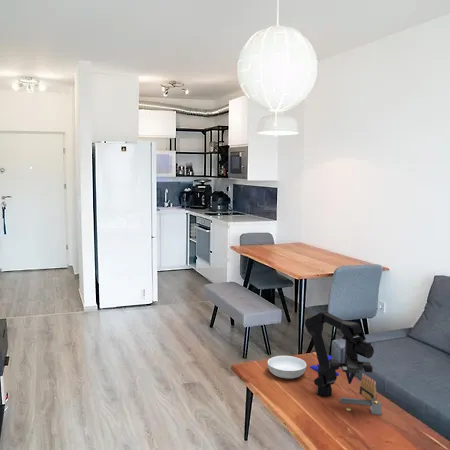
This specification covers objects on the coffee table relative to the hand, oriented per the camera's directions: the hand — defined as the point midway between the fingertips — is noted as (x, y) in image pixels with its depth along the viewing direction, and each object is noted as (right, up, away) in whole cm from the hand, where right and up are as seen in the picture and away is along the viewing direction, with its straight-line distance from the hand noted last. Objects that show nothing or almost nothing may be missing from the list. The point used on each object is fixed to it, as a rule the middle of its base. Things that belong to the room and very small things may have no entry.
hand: (349, 383), depth 213 cm
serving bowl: (-24, -9, +38) cm, 46 cm away
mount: (-2, -9, +44) cm, 45 cm away
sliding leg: (+12, -12, 0) cm, 17 cm away
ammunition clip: (+12, -12, +12) cm, 21 cm away
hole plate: (+5, -13, 0) cm, 14 cm away
